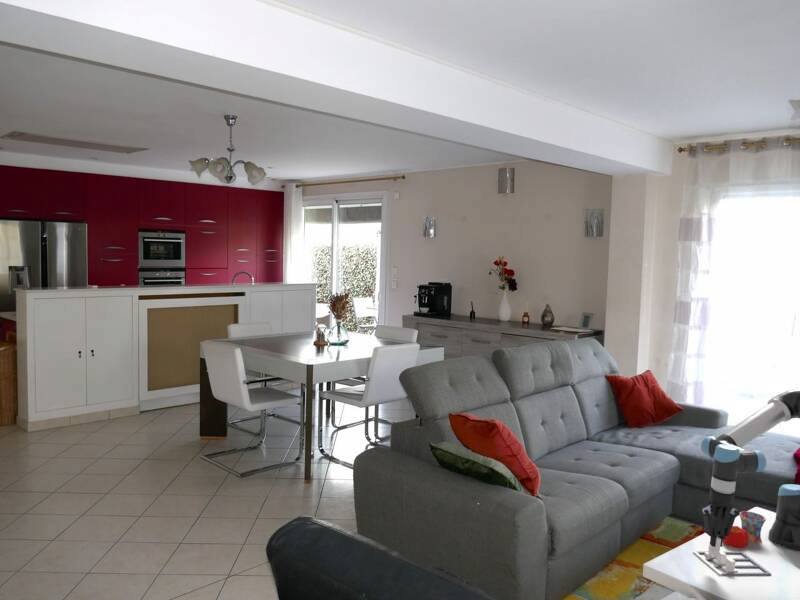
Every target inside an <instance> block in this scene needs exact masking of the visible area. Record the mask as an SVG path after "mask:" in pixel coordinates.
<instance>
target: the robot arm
mask: <svg viewBox="0 0 800 600" xmlns="http://www.w3.org/2000/svg"><path fill="white" fill-rule="evenodd" d="M792 419H800V388H795V389H789V390H787V391H785V392H782V393H780V394H777V395H776V396H773V397H772V398H771V399H769V400H768V401H767V405H765V406H764V407H762V408H760V409H758V410H757V411H756V412H754V413H753V414H751V415H750V416H748V417H746V418H745V419H744V420H742V421H741V422H739V423H737V424H736V425H734V426H733V427H731V428H729V429H728V430H726V431H725V432H723V433H722V434H720V435H719V436H717V437H716V436H712V435H709V436H705V437H704V438H703V439H702V441H701V443H700V448H701V452H702V453H703V454H704V455H705V456H706V457H709V458H711V459H713V463H712V474H711V483H710V489H709V490H710V491H709V502H708V504H707V506H705V507H701V508H700V510H701V512H702V514H703V521H704V522H703V523H704V531H705V534H707V535H708V536H709V537H710V539H709V544H710V545H711V552H710V553H711V554H712V555H713V556H715V557H719V553H720V551H721V547H723V543H724V541H723V540H724V539H725V537H728V536H729V534H730V532H731V529H732V526H734V523H735V520H736V518H737V516H738V515H739V513H740V511H739V510H737V509H736V508H734V505H733V503H734V501H735V491H736V486H737V476H738V474H746V473H751V474H753V473H758V472H762V471H764V470H765V468H766V466H767V458H766V456H765V455H764V453H763V452H762V451H760V450H757V449H745V448H744V447H745V446H746V445H749V444H750V443H752V442H753V441H755V440H756V439H758V438H759V437H761V436H762V435H764V434H765V433H767V432H768V431H770V430H771V429H772V428H775V426H777V425H779V424H780V423H782V422H785V423H786V422H788V421H791V420H792ZM767 537H768V539H769V540H770V541H771V542H772V543H774V544H776V545H778V546H779V547H783V548H786V549H789V550H793V551H799V552H800V484H794V483H793V484H792V483H790V484H789V483H788V484H787V483H786V484H781V485H780V487H779V489H778V493H777V502H776V513H775V519H774V522H773V523H772V526H771V528H770V529H769V531H768V536H767Z"/></svg>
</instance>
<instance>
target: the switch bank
mask: <svg viewBox="0 0 800 600" xmlns="http://www.w3.org/2000/svg"><path fill="white" fill-rule="evenodd" d="M705 552H708V551H700V550H699V551H698V550H697V551H696V550H695V551H693V552H692V553H693V555H695V556H696V557H697V558H698V559H700V560H701V562H703V563H704V564H706V565H707V567H709V568H710V569H711V570H712V571H714V572H715V573H716V575H718V576H720V577H721V576H723V577H725V576H726V577H727V576H730V577H732V576H733V577H734V576H737V577H738V576H740V577H741V576H743V577H744V576H745V577H746V576H747V577H748V576H752V577H753V576H757V577H758V576H759V577H760V576H767V577H768V576H770V577H771V576H772V573H771V572H770V571H768V570H767V569H766V568H764V567H763V566H762V565H761V564H759V563H758V562H757V561H755V560H754V559H753V558H751V557H750V556H749V555H747V554H746V553H744V552H743V551H723V552H724V553H725V554H727V555H741V556H742V557H744V558H742V557H739V558H732V557H731V558H732V559H733V560H734V561H735V562H750V563H751V565H750V564H749V565H748V564H747V565H746V564H745V565H743V564H742V565H739V564H737V565H736V564H735V569H759V570H761V571H762V572H738V573H726V572H721V571H720V570H719V569H721V566H725V565H716V564H715V565H714V564H711V563H710V562H713V559H717V558H708V557H706V558H705V557H703V556H702V555H705ZM752 564H753V565H752Z"/></svg>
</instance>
